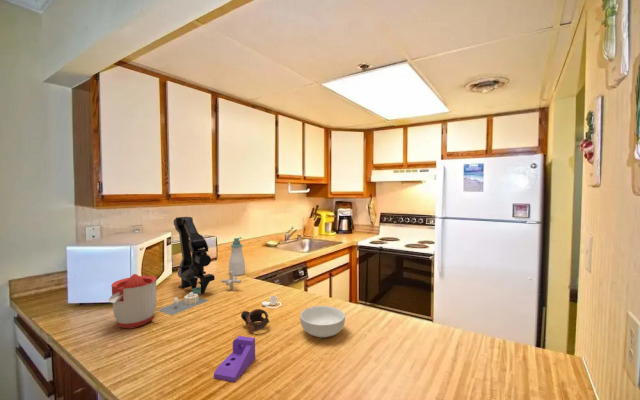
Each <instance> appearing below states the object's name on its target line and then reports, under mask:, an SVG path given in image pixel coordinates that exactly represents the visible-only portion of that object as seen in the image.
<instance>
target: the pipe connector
mask: <svg viewBox="0 0 640 400" xmlns="http://www.w3.org/2000/svg"><path fill="white" fill-rule="evenodd" d="M237 277H238V276H233V271H231V272H230V274H229V278H222V280H221V283H224V284H225V285H226V286H227V287H228V286H229V291H230V292H233V291H234V284H241V283H242V280H241V279H237Z"/></svg>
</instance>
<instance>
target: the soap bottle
mask: <svg viewBox="0 0 640 400" xmlns="http://www.w3.org/2000/svg"><path fill="white" fill-rule="evenodd" d="M240 239H242V237H240V236H239V237H236V238H235V237H234V239H233V240H232V244H231V245H230V248H231V249H230V250H231V251H230V258H229V260H228V274H229V275H230V272H231V271H233V277H238V276H242V275H244V274H245V273H246V265H245V259H244V254H243V246H244V245H243V243H241V241H240Z"/></svg>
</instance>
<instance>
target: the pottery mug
mask: <svg viewBox="0 0 640 400" xmlns="http://www.w3.org/2000/svg"><path fill="white" fill-rule="evenodd" d="M263 314H264V316H265V317H264V316H263ZM240 317H241V319H242V320H243V321H244V322H245V324H246V326H249V329H248V332H249V333H250V334H254V332H258V331H261V330H263V329H264V328H265V327H266V326H267V325H268V324H269V323H270V319H269V315H268V312H266V311H265V310H264V309H262V308H261V309H260V308H255V309H252V310H251V311H248V310H247V311H246V310H244V311H242V312H241V314H240ZM256 322H257V323H256Z"/></svg>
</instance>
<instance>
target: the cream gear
mask: <svg viewBox="0 0 640 400" xmlns="http://www.w3.org/2000/svg"><path fill="white" fill-rule="evenodd" d="M199 295H200V294H193V297H189V293H188V294H186V295H184V296H183V300H184V303H185V305H186V304H189V305H191V304H196V303H197V302H199V298H200V297H199Z"/></svg>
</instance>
